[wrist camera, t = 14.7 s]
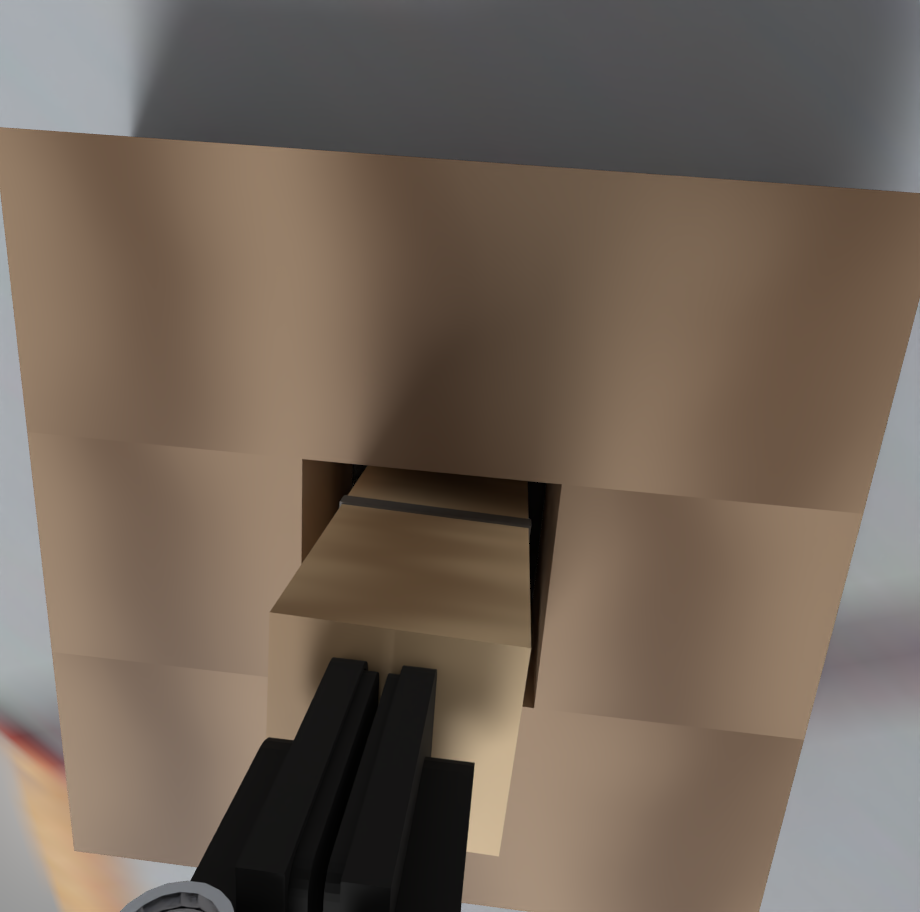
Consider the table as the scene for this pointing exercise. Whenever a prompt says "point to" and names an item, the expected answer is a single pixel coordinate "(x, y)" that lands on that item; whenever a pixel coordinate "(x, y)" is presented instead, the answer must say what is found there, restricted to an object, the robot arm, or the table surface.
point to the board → (455, 468)
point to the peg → (419, 615)
